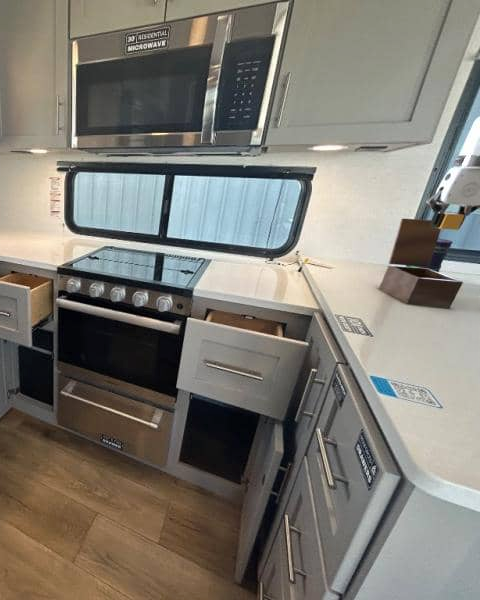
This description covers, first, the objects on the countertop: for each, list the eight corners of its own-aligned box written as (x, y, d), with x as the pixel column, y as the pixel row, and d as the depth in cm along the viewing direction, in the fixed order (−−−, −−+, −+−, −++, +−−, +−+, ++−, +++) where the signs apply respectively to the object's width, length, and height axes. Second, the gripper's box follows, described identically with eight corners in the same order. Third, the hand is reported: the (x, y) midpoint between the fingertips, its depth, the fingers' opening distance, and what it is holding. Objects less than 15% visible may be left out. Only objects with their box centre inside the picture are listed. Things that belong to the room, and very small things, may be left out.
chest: (449, 308, 103) (463, 282, 99) (406, 304, 105) (418, 278, 101) (416, 292, 116) (427, 268, 112) (378, 288, 118) (388, 265, 114)
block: (446, 227, 103) (453, 213, 101) (457, 229, 99) (465, 215, 97) (429, 226, 104) (436, 212, 102) (440, 228, 100) (447, 213, 98)
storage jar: (404, 275, 134) (420, 239, 128) (401, 270, 141) (416, 235, 136) (438, 281, 129) (456, 243, 123) (433, 275, 136) (450, 239, 130)
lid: (443, 220, 108) (441, 221, 109) (403, 218, 110) (401, 218, 111) (429, 267, 112) (427, 267, 112) (389, 263, 114) (388, 263, 115)
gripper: (449, 162, 92) (420, 227, 99) (523, 164, 89) (487, 232, 96) (429, 162, 99) (403, 223, 106) (497, 164, 96) (466, 227, 103)
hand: (444, 226), depth 101 cm, fingers closed on block, 4 cm apart
